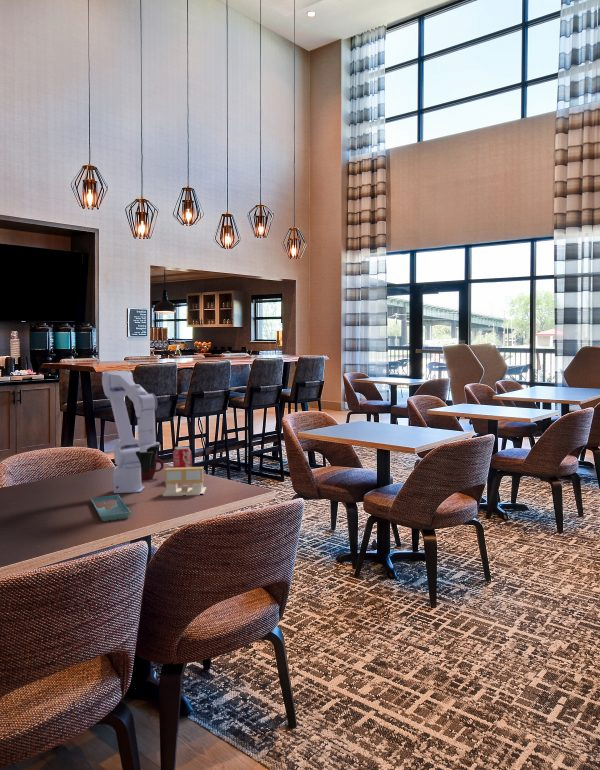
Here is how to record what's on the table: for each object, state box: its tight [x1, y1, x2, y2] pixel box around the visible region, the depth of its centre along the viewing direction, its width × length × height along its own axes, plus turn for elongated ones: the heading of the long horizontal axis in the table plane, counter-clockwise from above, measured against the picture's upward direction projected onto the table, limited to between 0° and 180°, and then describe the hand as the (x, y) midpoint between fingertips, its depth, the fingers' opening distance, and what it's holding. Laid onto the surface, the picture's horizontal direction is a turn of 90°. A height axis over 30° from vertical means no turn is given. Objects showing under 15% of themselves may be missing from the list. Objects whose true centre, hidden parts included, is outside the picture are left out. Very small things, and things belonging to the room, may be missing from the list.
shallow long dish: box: [90, 494, 132, 522], centre depth 200 cm, size 26×9×2 cm, turn 24°
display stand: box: [162, 482, 207, 497], centre depth 220 cm, size 14×9×4 cm, turn 92°
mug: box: [141, 452, 164, 480], centre depth 245 cm, size 11×8×10 cm
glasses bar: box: [164, 466, 205, 485], centre depth 220 cm, size 13×3×5 cm, turn 92°
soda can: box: [172, 445, 193, 468], centre depth 244 cm, size 7×7×12 cm
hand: (148, 469), depth 212 cm, fingers open, 7 cm apart
